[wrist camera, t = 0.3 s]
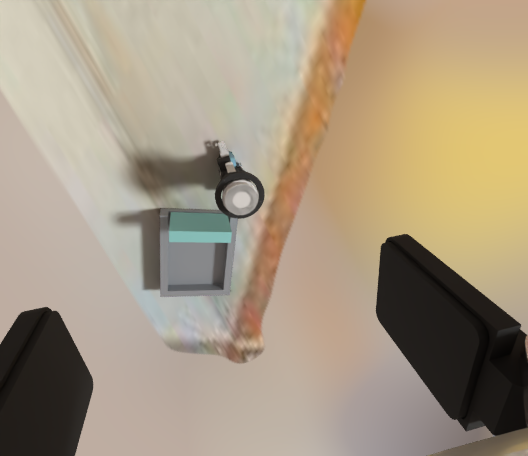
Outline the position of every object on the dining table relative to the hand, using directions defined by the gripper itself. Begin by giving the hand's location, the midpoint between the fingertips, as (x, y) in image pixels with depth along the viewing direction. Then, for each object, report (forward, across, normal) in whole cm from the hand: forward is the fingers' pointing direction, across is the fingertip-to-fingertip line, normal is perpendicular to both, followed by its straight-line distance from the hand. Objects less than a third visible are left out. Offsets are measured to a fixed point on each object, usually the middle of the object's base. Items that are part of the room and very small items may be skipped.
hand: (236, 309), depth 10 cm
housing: (+35, +4, +18) cm, 40 cm away
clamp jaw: (+34, +2, +13) cm, 36 cm away
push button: (+35, -3, +6) cm, 36 cm away
